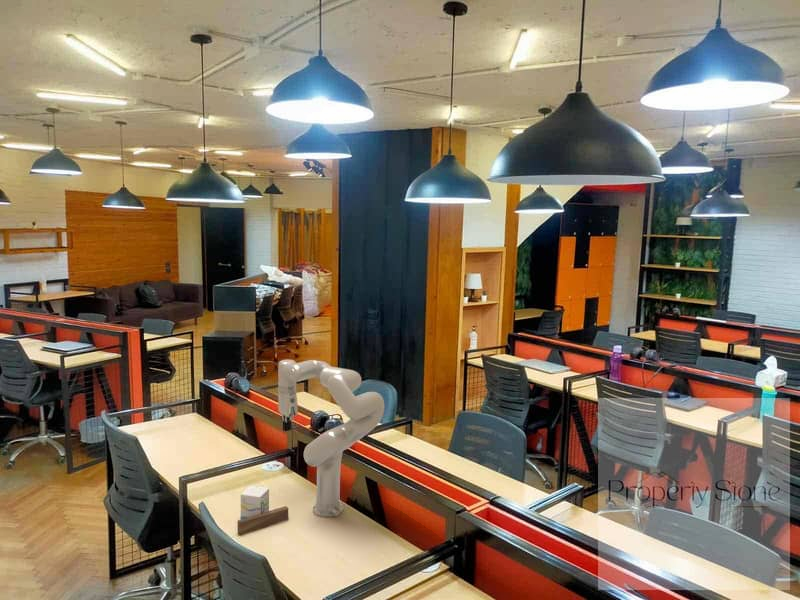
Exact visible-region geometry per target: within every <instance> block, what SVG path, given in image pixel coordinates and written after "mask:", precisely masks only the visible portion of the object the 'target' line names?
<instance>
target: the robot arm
mask: <svg viewBox="0 0 800 600" xmlns="http://www.w3.org/2000/svg"><path fill="white" fill-rule="evenodd" d="M277 367H278V374H277V375H278V378H277V379H278V380H277V382H278V383H277V385H278V386H277V387H278V389H277V392H278V399H277V409H278V412H279V413H280V415H281V418H282V431H284V432H290V431H291V430H292V421H294V420H295V416H298V414H299V413H298V409H299V408H298V397H297V383H299V382H301V381H305V380H308V379H311V378H316V379H319V382H320V384H321V385H322V386H323V388H327V389H328V392H329V394H330V395H331V397H332V398H333V400H334V402H336V404H337V405H338V407H339V408H340V409H341V410H342V412H343V413H344V415H346V417H347V418H349V420H348V421H346V422H344V423H343V424H341V425H340V424H339V425H338V426H335V427H333V428H331V429H329V430H326V431H325V432H323V433H322V434H320V435H319V436H317V437H316V438H315V439H313V440H312V441H311V442H309V443H308V444H307V445H306V446H305V447H304V451H303V458H304V459H303V460H304V461H305V463H306V464H307V465H308V466H310V467H314V468H316V467H317V468H316V503H314V504H313V506H312V513H314V515H315V516H318V517H323V518H332V517H338V516H339V515H340V514H342V513H343V512H344V504H343V503H341V501H340V499H341V497H340V495H341V493H340V491H341V465H342V463H341V462H342V458H343V452H344V451H345V450H348V449H349V448H350V447H352V446H353V445H354V444H355V443H357V442H358V441H359V440H361V439H362V438H364V437H365V436H367V435H368V433H370V432H371V431H372V430H374V429H375V428H376V427H377V426H378V424H380V422H381V420H382V418H383V416H384V413H385V401H384V397H383V396H382V395H381V394H380V393H378V392H376V391H367V392H364V393H361V394H359V395H355V394H354V393H353V392H355V391H356V390H358V388H360V387H361V384H362V377H361V375H360V373H359V372H357V371H355V370H353V369H349V368H342V367H335V366H331V365H330V364H329V363H327V362H326V361H320V360H314V359H308V360H305V361H300V362H296V361H295V360H294V359H282V360H280V361H279V362H278V366H277Z"/></svg>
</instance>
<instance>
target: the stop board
mask: <svg viewBox="0 0 800 600" xmlns="http://www.w3.org/2000/svg"><path fill="white" fill-rule="evenodd" d="M288 520H289V507H288V506H287V505H284V506H281V507H278V508H275V509H271V510H269V511H268V512H264V513H261V514H258V515H254V516H251V517H248V518H245V519H241V520H240V519H238V520H237V534H238V536H242V535H246V534H249V533H252V532H255V531H257V530H261V529H263V528H267V527H271V526H273V525H277V524H279V523H282V522H286V521H288Z"/></svg>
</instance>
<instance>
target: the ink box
mask: <svg viewBox="0 0 800 600" xmlns="http://www.w3.org/2000/svg"><path fill="white" fill-rule="evenodd" d="M268 511H270V487H265V486H260V485H259V486H258V485H249V486H248V487H247V488H246V489H245V490H244V491H243V492H242V493H240V516H239V517H240V519H239V520H241V519H245V518H248V517H251V516H254V515H258V514H261V513H264V512H268Z"/></svg>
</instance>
